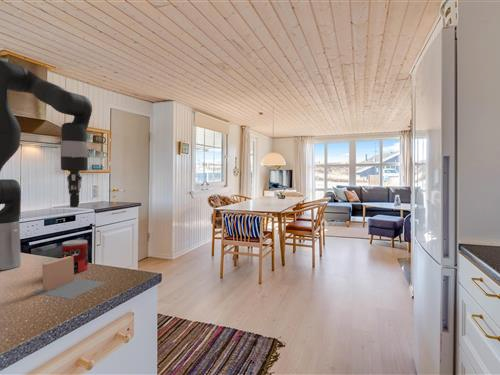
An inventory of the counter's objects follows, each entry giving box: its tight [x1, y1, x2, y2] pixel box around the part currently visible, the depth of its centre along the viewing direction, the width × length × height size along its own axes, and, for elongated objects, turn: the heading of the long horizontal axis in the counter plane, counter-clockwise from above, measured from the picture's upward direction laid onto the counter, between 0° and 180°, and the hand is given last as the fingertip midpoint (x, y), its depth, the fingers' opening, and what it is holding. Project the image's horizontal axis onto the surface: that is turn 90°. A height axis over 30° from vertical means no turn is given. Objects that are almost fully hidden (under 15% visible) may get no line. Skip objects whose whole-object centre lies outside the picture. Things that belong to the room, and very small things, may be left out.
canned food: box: [61, 239, 89, 274], centre depth 107 cm, size 8×8×11 cm
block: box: [41, 256, 75, 291], centre depth 92 cm, size 2×9×8 cm, turn 162°
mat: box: [31, 277, 106, 300], centre depth 91 cm, size 15×13×1 cm
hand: (74, 205), depth 97 cm, fingers open, 8 cm apart
